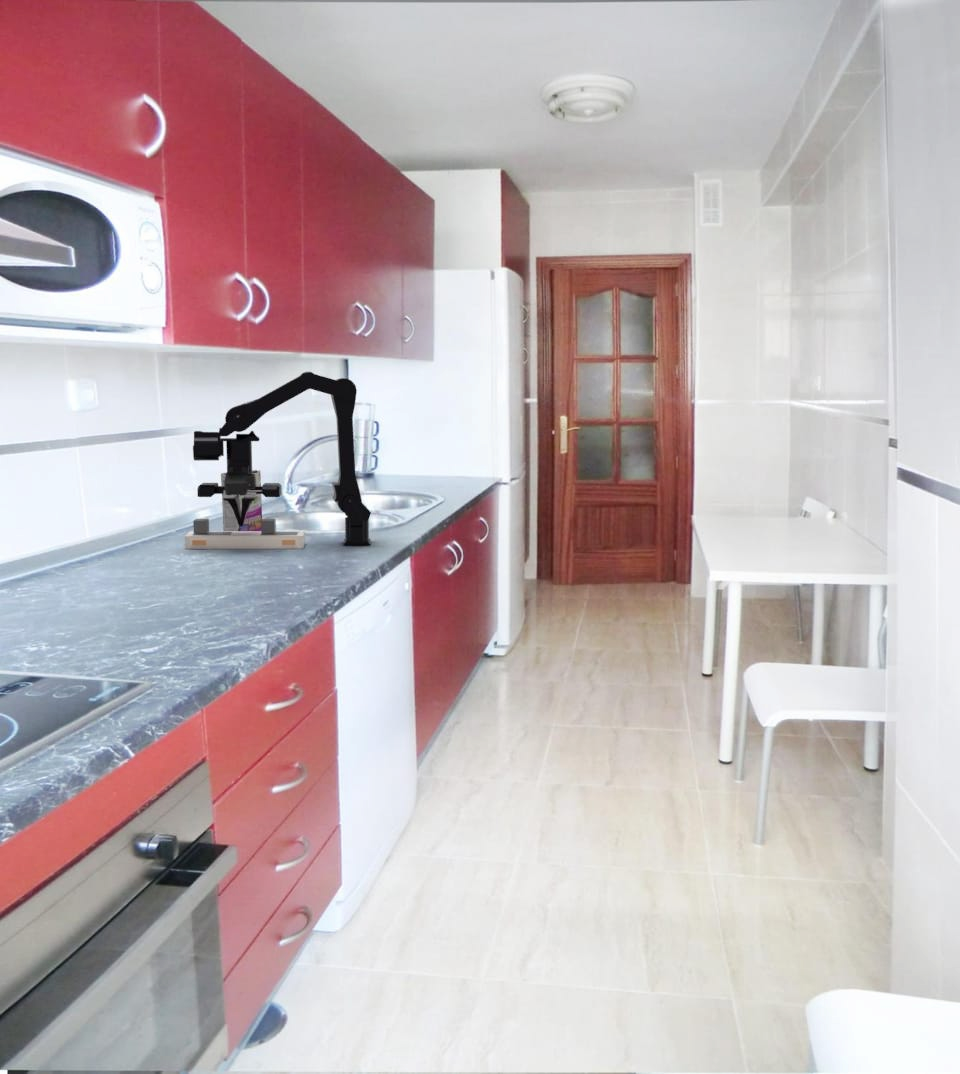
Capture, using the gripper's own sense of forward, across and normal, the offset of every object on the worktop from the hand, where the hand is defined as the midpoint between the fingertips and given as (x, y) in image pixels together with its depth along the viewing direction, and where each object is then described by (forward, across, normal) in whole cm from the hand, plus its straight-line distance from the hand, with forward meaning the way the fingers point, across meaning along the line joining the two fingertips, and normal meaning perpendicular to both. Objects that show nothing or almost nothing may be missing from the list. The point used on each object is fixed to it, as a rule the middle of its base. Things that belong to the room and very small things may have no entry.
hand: (241, 526), depth 220 cm
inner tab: (+1, +6, 0) cm, 7 cm away
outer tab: (+1, -9, 0) cm, 9 cm away
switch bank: (+5, +1, 0) cm, 5 cm away
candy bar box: (+5, -2, +16) cm, 16 cm away
